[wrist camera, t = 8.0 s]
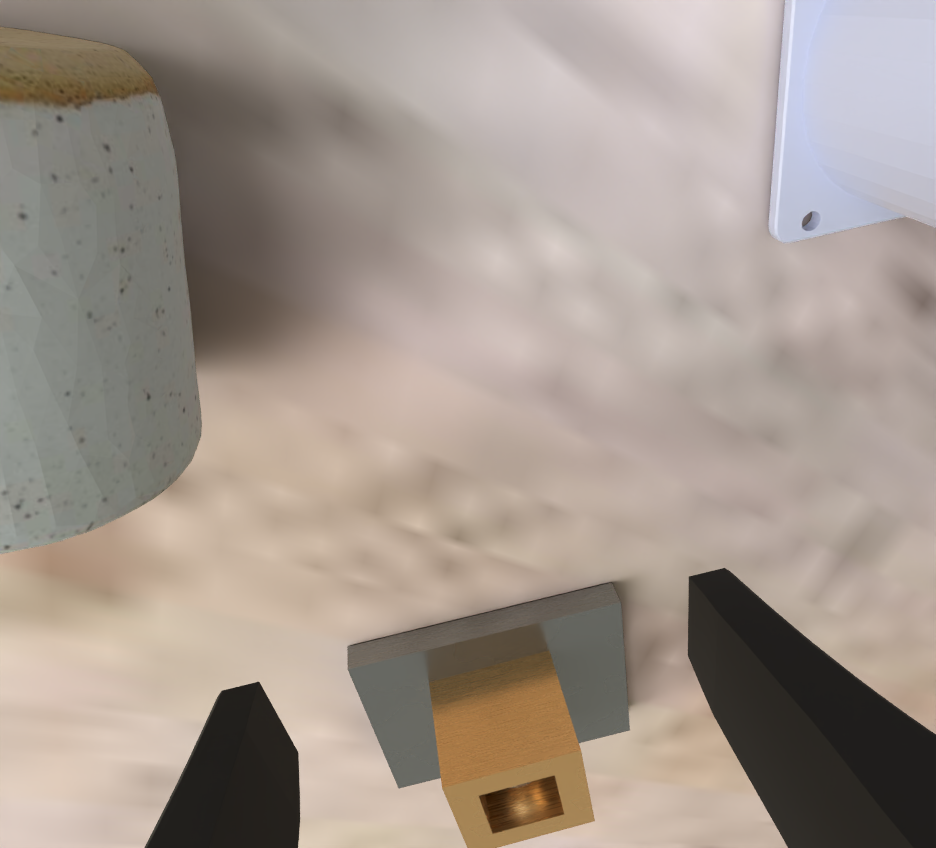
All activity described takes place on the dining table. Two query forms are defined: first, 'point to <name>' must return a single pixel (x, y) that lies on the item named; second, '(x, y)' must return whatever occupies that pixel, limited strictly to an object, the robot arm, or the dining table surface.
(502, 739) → the wooden block with hole
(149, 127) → the ceramic mug
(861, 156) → the robot arm
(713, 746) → the dining table surface
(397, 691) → the flat gray rectangular block
